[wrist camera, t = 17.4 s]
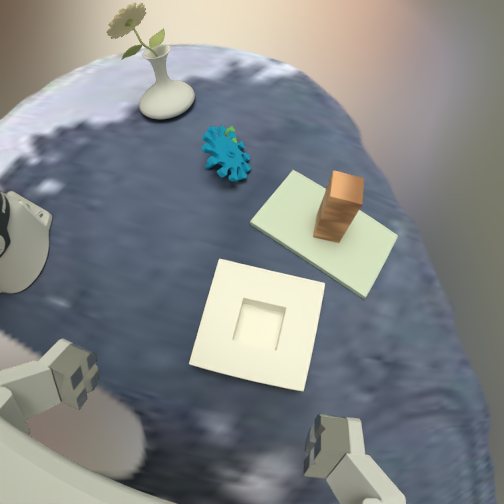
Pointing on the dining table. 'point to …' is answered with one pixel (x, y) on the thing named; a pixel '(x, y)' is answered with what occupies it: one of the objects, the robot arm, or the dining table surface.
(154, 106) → the flower in vase
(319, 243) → the mat
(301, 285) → the socket block
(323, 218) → the peg
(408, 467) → the dining table surface
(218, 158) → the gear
